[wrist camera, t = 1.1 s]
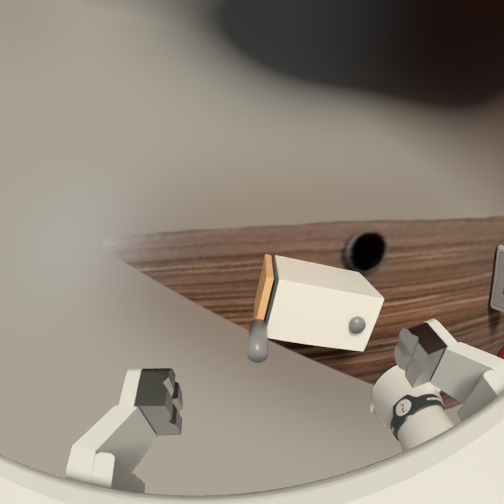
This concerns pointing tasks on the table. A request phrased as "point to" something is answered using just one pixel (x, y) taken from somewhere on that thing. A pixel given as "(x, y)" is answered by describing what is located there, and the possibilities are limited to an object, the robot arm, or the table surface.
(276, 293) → the camera case
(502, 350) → the canister
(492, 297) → the digital clock
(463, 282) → the table surface
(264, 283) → the wooden flat board
